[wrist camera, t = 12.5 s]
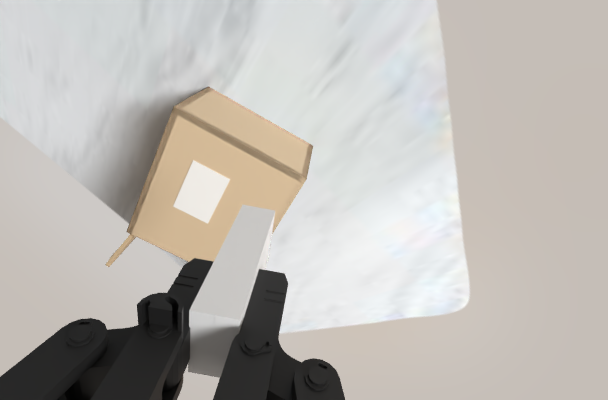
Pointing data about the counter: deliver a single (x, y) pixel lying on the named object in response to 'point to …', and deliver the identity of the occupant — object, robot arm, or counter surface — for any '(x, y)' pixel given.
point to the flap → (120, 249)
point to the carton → (215, 175)
